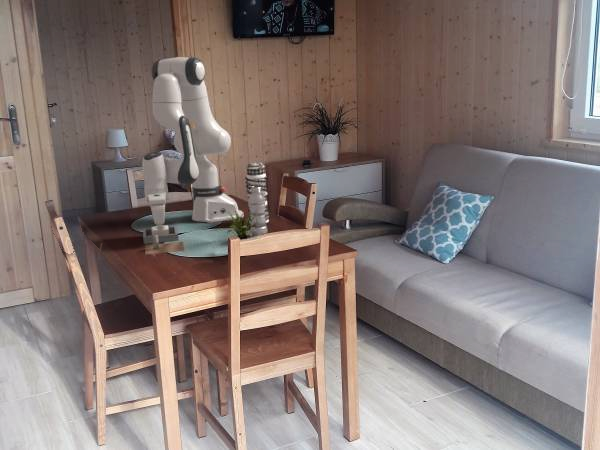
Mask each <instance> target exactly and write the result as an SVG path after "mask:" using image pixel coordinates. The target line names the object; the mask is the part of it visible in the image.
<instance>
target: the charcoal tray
mask: <svg viewBox="0 0 600 450" xmlns="http://www.w3.org/2000/svg"><path fill="white" fill-rule="evenodd" d="M168 228H169V234H167V235H158V242H159V243H170V242H177V241H178V242H180V241H179V239H180V238H179V232H178V226H177V225H171V226H168ZM142 232H143V233H142V238H143V245H150V244H153V238H152V227H151V228H150V227H149V228H143V230H142Z"/></svg>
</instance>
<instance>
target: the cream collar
mask: <svg viewBox="0 0 600 450" xmlns="http://www.w3.org/2000/svg"><path fill="white" fill-rule="evenodd" d="M168 227H169V225H168V224H167V225H166V224H165V225H163V233H158V228H157V225H156V226H151V228H152V236H153V235H167V234H169V228H168Z"/></svg>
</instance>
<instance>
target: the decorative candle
mask: <svg viewBox="0 0 600 450" xmlns="http://www.w3.org/2000/svg"><path fill="white" fill-rule="evenodd" d="M265 167H266V166H265V165H264V164H263V163H262V162H260V161H258V162H257V161H255V162H249V163H248V164H247V165H246V167H245V168H246V176H245V177H244V179H245V180H246V181H245V184H246V186H245V188H246V193H247V194H246V195H247V196H248V198H249V197H250V196H251V194H252V192H251V187H253V186H260V187H261V194H262V195H263V197H264V198H265V222H266V224H267V223H269V221H270V220H269V219H270V218H269V208H268V207H269V205H268V200H267V195H268V192H267V191H268V188H267V187H268V184H266V183H267V182H268V180H267V179H268V176H267V175H266V168H265ZM247 208H248V210H247V211H248V212H249V213H248V216H249V214H250V208H249V205H248V206H247ZM250 221H251V214H250V217H249V220H248V223H249V222H250ZM250 224H251V222H250Z"/></svg>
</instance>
